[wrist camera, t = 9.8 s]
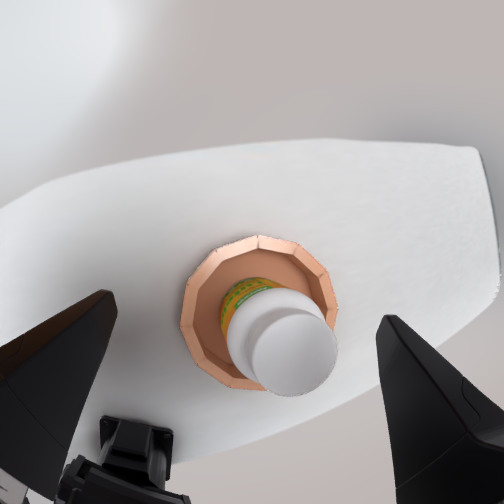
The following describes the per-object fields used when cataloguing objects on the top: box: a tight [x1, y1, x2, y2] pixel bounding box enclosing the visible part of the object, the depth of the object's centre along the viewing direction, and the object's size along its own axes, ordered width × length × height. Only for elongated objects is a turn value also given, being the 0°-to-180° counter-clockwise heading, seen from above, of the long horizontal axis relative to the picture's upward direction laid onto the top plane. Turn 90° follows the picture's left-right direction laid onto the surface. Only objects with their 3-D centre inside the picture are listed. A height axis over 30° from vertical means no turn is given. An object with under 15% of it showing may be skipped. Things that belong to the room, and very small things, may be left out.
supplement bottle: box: [219, 277, 338, 397], centre depth 17 cm, size 5×5×10 cm
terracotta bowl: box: [180, 235, 338, 391], centre depth 21 cm, size 11×11×3 cm
